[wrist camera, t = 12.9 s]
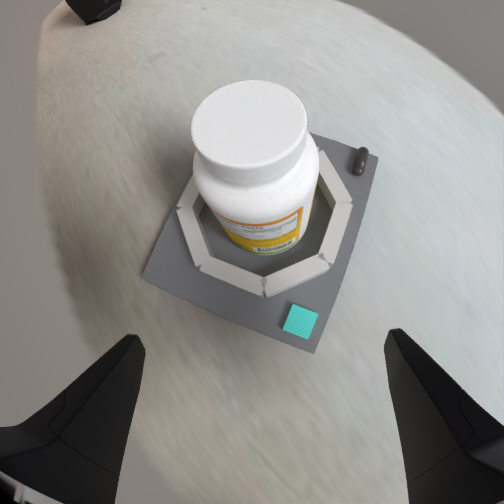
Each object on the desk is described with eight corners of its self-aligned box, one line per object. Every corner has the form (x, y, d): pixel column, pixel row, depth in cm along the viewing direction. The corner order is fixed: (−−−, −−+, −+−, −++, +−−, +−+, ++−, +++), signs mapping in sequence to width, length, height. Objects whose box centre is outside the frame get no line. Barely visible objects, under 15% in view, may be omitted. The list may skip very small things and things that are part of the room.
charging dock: (312, 351, 17) (316, 357, 15) (147, 280, 19) (130, 274, 17) (375, 164, 19) (384, 146, 17) (228, 118, 22) (222, 98, 19)
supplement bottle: (256, 164, 19) (233, 53, 10) (324, 205, 18) (355, 103, 9) (207, 226, 19) (140, 143, 9) (276, 274, 17) (267, 222, 8)
